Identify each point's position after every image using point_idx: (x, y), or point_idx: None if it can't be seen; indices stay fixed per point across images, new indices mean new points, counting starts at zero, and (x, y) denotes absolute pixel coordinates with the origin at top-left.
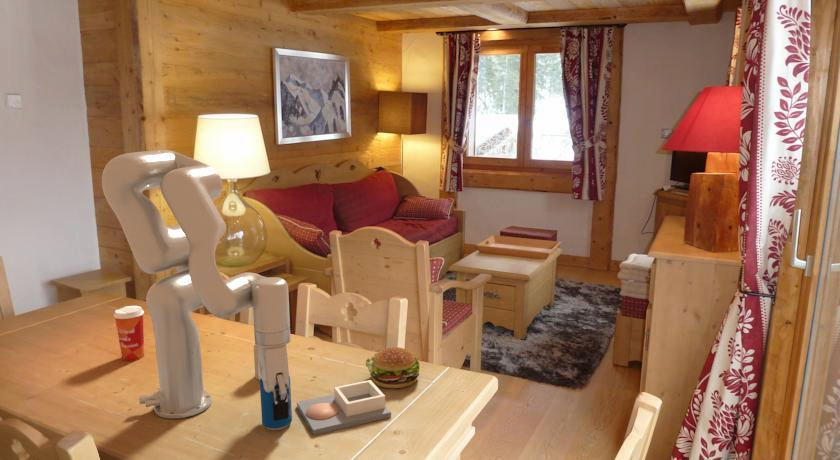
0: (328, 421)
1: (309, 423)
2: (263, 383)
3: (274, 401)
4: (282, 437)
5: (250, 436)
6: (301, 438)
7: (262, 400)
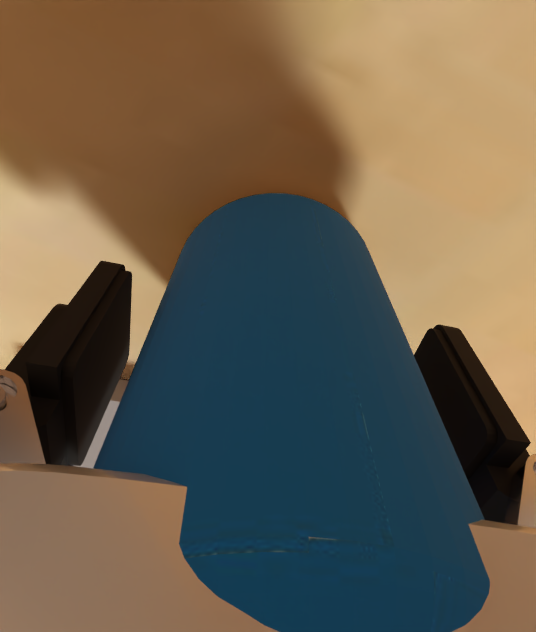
0: (93, 460)
1: (120, 400)
2: (152, 593)
3: (2, 397)
4: (99, 236)
5: (231, 47)
6: (40, 312)
7: (258, 310)
